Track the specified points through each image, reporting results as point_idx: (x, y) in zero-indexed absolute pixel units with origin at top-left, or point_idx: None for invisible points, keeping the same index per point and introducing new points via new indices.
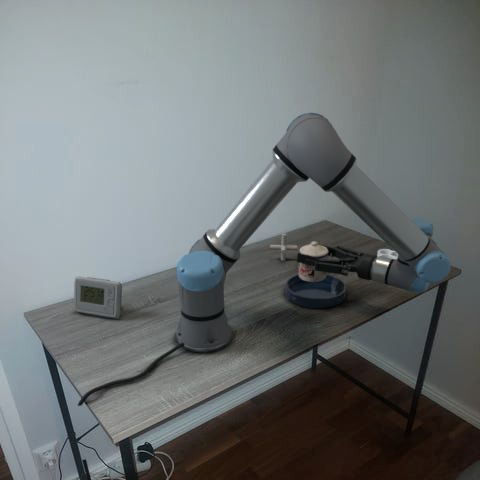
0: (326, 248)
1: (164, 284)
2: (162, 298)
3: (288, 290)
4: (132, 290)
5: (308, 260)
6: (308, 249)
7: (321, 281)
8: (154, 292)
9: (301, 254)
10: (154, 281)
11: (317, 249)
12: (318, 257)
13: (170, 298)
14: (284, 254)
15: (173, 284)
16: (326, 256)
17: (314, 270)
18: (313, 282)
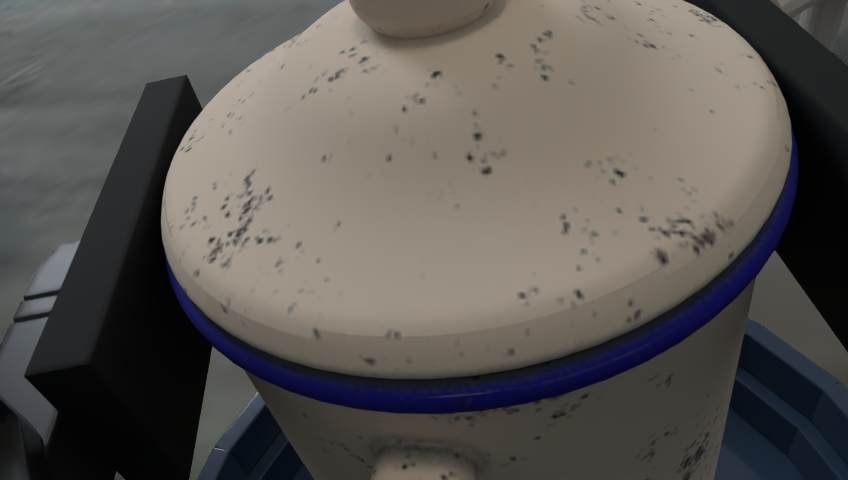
0: (726, 182)
1: (152, 29)
2: (30, 89)
3: (247, 410)
4: (65, 21)
5: (28, 301)
6: (273, 65)
7: (812, 474)
8: (73, 53)
9: (137, 120)
10: (162, 7)
11: (339, 136)
12: (224, 345)
13: (39, 100)
14: (817, 32)
15: (166, 40)
16: (518, 407)
17: (306, 468)
18: (730, 420)
